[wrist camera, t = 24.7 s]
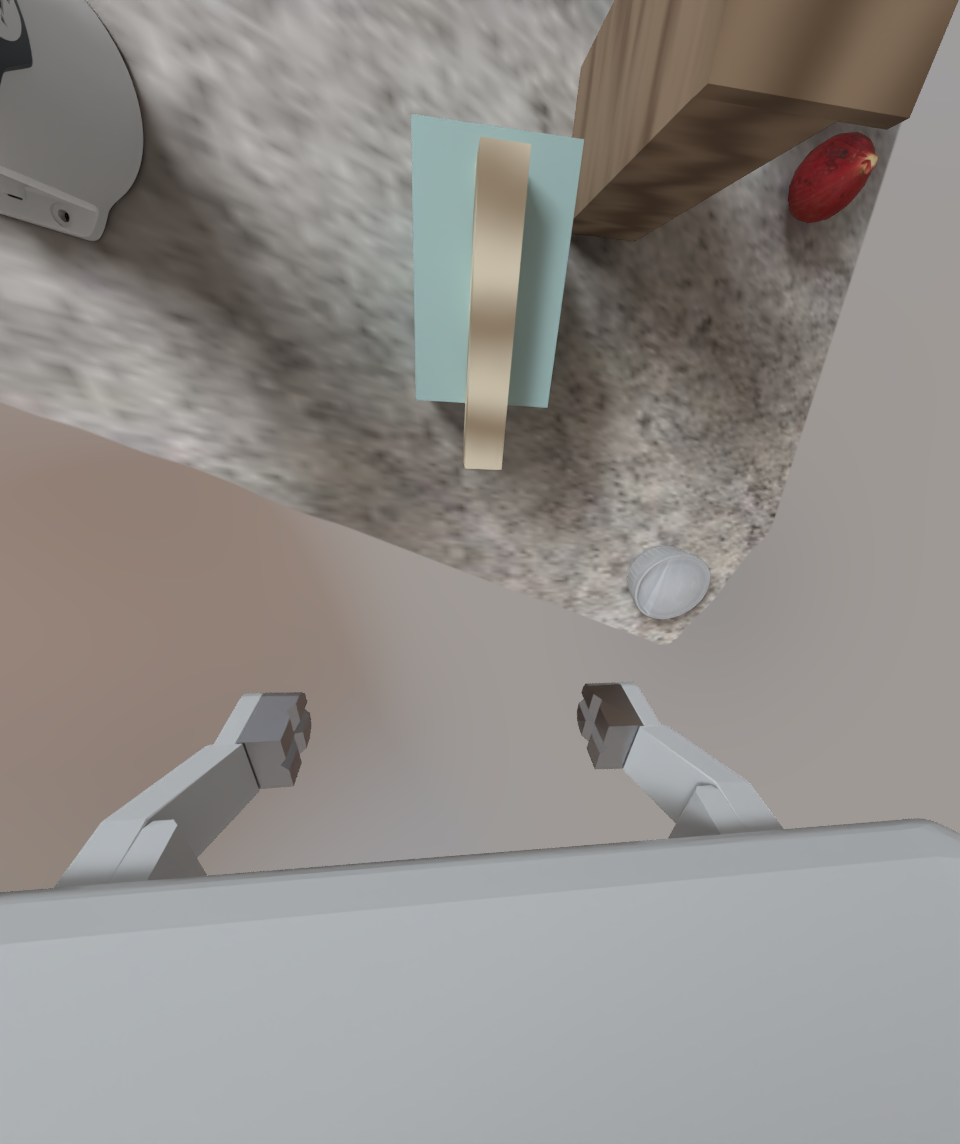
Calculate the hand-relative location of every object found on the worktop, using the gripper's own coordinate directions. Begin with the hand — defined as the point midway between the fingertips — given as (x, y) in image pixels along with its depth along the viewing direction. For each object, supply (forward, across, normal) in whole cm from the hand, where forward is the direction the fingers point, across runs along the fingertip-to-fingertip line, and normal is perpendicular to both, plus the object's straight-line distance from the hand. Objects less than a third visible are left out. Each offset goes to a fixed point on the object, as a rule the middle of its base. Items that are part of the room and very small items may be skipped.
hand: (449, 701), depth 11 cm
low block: (+41, +3, +14) cm, 44 cm away
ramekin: (+42, +34, -18) cm, 57 cm away
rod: (+26, +3, +11) cm, 28 cm away
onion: (+42, +36, +26) cm, 61 cm away
